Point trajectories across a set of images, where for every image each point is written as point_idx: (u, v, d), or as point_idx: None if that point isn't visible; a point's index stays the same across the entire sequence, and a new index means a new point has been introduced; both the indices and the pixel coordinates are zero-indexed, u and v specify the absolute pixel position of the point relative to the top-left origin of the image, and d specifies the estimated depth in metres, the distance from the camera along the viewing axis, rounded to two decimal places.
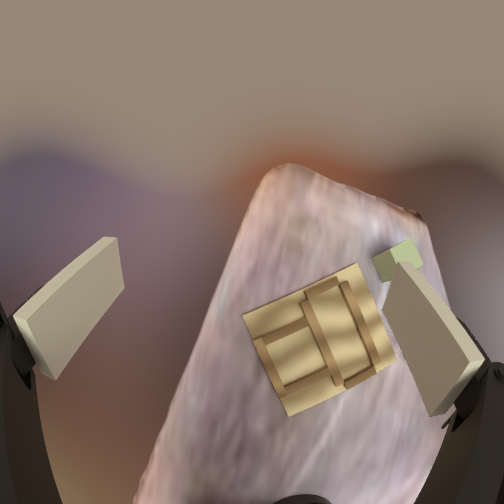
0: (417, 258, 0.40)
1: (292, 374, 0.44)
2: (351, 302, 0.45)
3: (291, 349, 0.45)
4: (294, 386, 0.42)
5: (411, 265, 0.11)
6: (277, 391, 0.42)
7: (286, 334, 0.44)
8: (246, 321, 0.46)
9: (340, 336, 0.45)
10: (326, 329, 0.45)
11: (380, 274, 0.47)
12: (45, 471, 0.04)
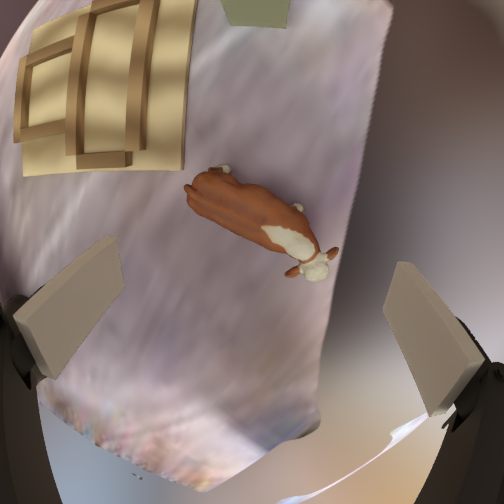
0: None
1: (39, 115, 0.22)
2: (139, 26, 0.17)
3: (50, 79, 0.20)
4: (27, 132, 0.21)
5: (411, 265, 0.11)
6: (14, 132, 0.21)
7: (46, 54, 0.17)
8: (33, 36, 0.17)
9: (108, 78, 0.21)
10: (96, 61, 0.20)
11: None
12: (45, 472, 0.04)
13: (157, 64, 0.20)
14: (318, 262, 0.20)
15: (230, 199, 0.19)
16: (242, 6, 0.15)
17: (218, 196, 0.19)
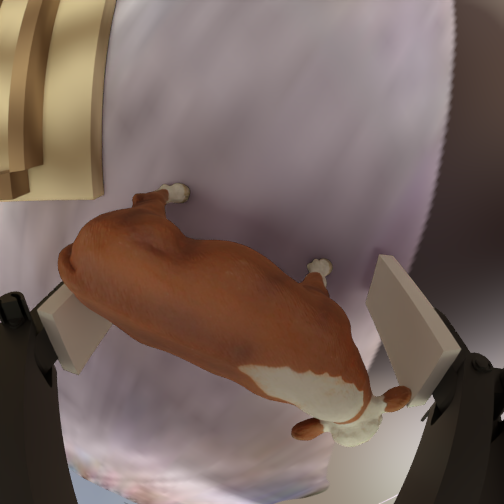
0: None
1: None
2: None
3: None
4: None
5: (392, 258, 0.12)
6: None
7: None
8: None
9: (5, 57, 0.08)
10: None
11: None
12: (62, 471, 0.04)
13: (63, 18, 0.08)
14: (366, 423, 0.07)
15: (153, 300, 0.07)
16: None
17: (122, 291, 0.07)
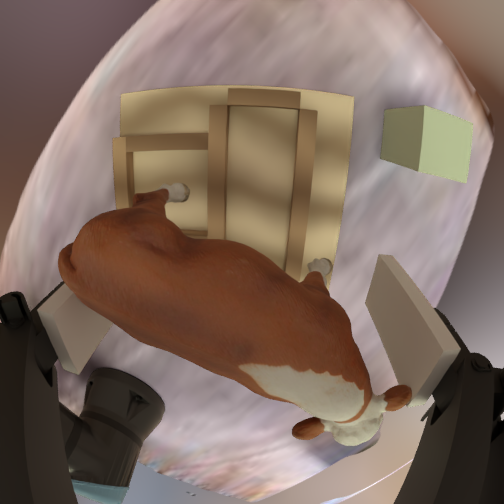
0: (462, 164, 0.16)
1: None
2: (303, 151, 0.22)
3: (167, 176, 0.25)
4: None
5: (392, 258, 0.12)
6: None
7: (163, 147, 0.23)
8: (122, 105, 0.22)
9: (257, 196, 0.26)
10: (238, 172, 0.25)
11: (385, 142, 0.23)
12: (62, 471, 0.04)
13: (315, 194, 0.25)
14: (367, 422, 0.07)
15: (153, 299, 0.07)
16: None
17: (122, 290, 0.07)
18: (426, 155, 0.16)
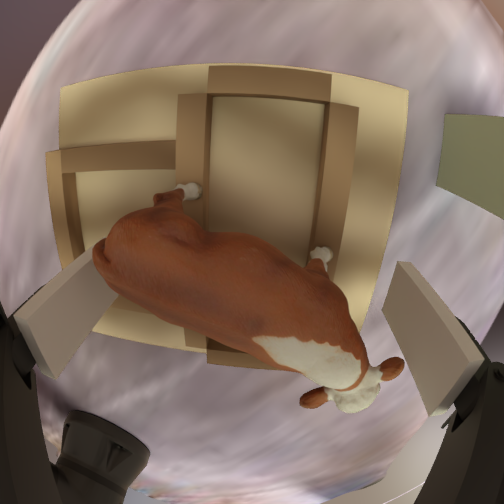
0: None
1: None
2: (333, 174, 0.13)
3: (121, 207, 0.16)
4: None
5: (411, 265, 0.11)
6: None
7: (109, 165, 0.14)
8: (62, 103, 0.13)
9: None
10: (226, 203, 0.16)
11: (446, 163, 0.14)
12: (45, 471, 0.04)
13: (345, 239, 0.16)
14: (365, 390, 0.09)
15: (180, 283, 0.08)
16: None
17: (153, 277, 0.08)
18: None
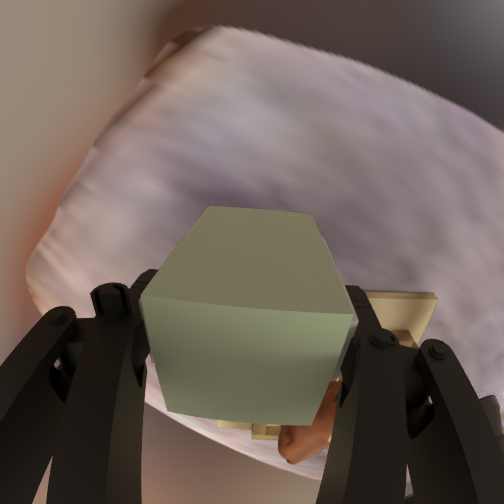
0: (289, 335, 0.06)
1: None
2: None
3: None
4: None
5: None
6: None
7: None
8: (226, 426, 0.31)
9: None
10: None
11: None
12: (135, 479, 0.04)
13: None
14: None
15: (300, 451, 0.18)
16: None
17: (296, 455, 0.18)
18: (274, 416, 0.08)
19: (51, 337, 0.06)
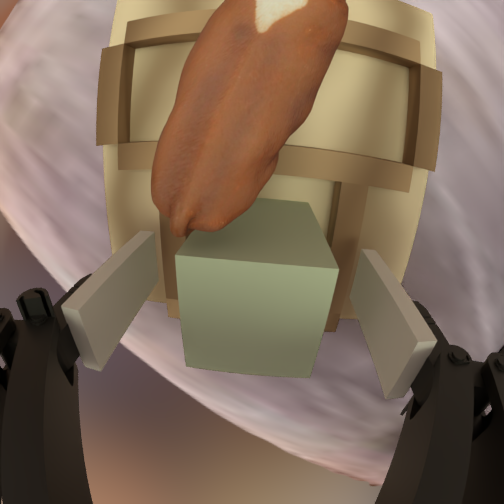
0: (289, 286, 0.09)
1: None
2: (187, 25, 0.10)
3: None
4: None
5: (375, 252, 0.12)
6: None
7: (181, 242, 0.15)
8: None
9: None
10: None
11: None
12: (79, 472, 0.04)
13: None
14: None
15: (187, 117, 0.06)
16: None
17: (180, 149, 0.07)
18: (278, 367, 0.10)
19: None
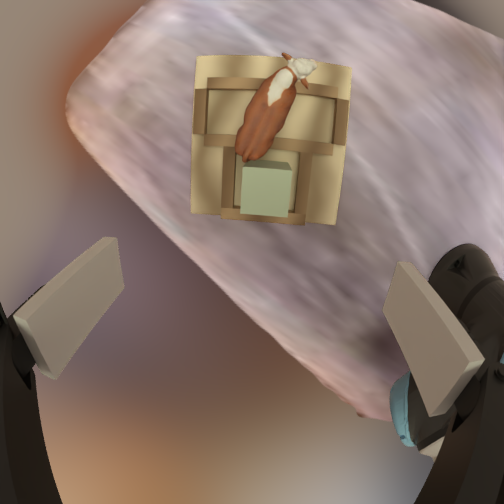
0: (277, 176, 0.28)
1: None
2: (236, 84, 0.29)
3: None
4: (300, 202, 0.35)
5: (411, 265, 0.11)
6: (294, 222, 0.36)
7: (231, 178, 0.34)
8: (199, 211, 0.38)
9: None
10: None
11: None
12: (45, 472, 0.04)
13: None
14: (293, 65, 0.22)
15: (250, 127, 0.25)
16: None
17: (247, 136, 0.26)
18: (275, 211, 0.29)
19: None
